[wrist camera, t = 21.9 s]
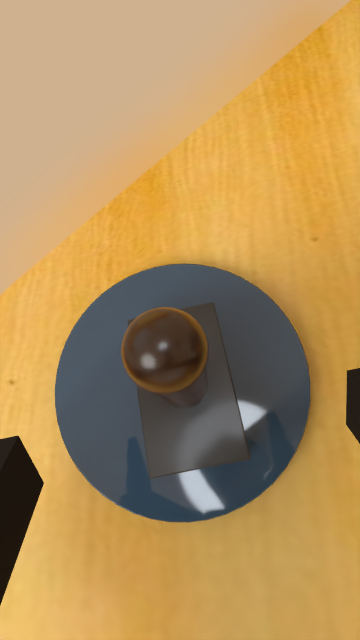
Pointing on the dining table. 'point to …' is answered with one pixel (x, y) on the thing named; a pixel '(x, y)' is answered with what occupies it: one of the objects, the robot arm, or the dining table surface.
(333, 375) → the dining table surface
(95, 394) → the plate
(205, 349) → the stamp
